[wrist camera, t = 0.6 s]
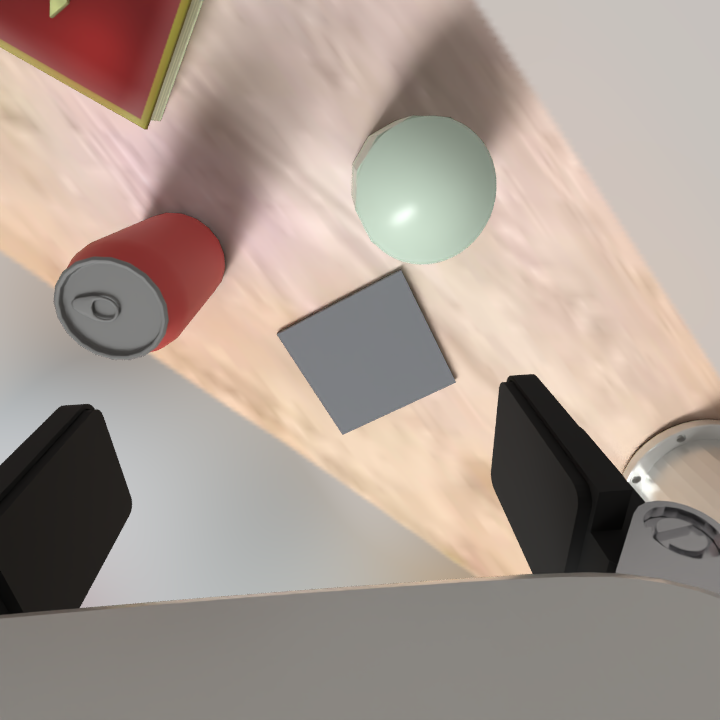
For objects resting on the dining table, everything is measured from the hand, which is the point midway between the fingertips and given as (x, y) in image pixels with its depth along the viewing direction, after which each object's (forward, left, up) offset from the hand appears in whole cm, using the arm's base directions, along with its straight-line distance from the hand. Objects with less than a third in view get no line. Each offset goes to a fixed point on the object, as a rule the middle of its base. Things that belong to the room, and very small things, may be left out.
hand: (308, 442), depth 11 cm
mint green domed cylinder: (+1, -7, -26) cm, 27 cm away
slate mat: (-10, +2, -26) cm, 28 cm away
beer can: (+4, +10, -26) cm, 28 cm away
